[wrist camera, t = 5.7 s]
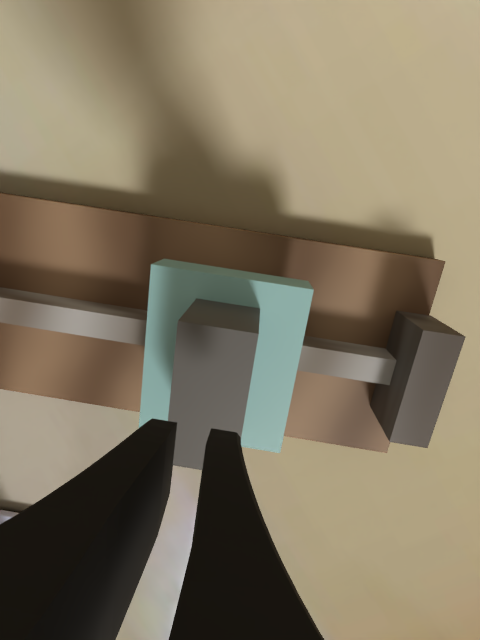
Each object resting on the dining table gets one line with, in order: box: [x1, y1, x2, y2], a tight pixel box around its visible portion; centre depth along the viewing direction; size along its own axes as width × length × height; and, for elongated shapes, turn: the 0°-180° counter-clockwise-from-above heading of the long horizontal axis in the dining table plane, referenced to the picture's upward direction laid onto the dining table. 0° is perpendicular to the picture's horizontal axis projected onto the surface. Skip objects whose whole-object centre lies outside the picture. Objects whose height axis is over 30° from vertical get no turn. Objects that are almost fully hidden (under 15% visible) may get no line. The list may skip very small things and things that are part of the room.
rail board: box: [0, 193, 465, 453], centre depth 17 cm, size 30×10×4 cm, turn 82°
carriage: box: [139, 259, 314, 470], centre depth 14 cm, size 6×7×5 cm
